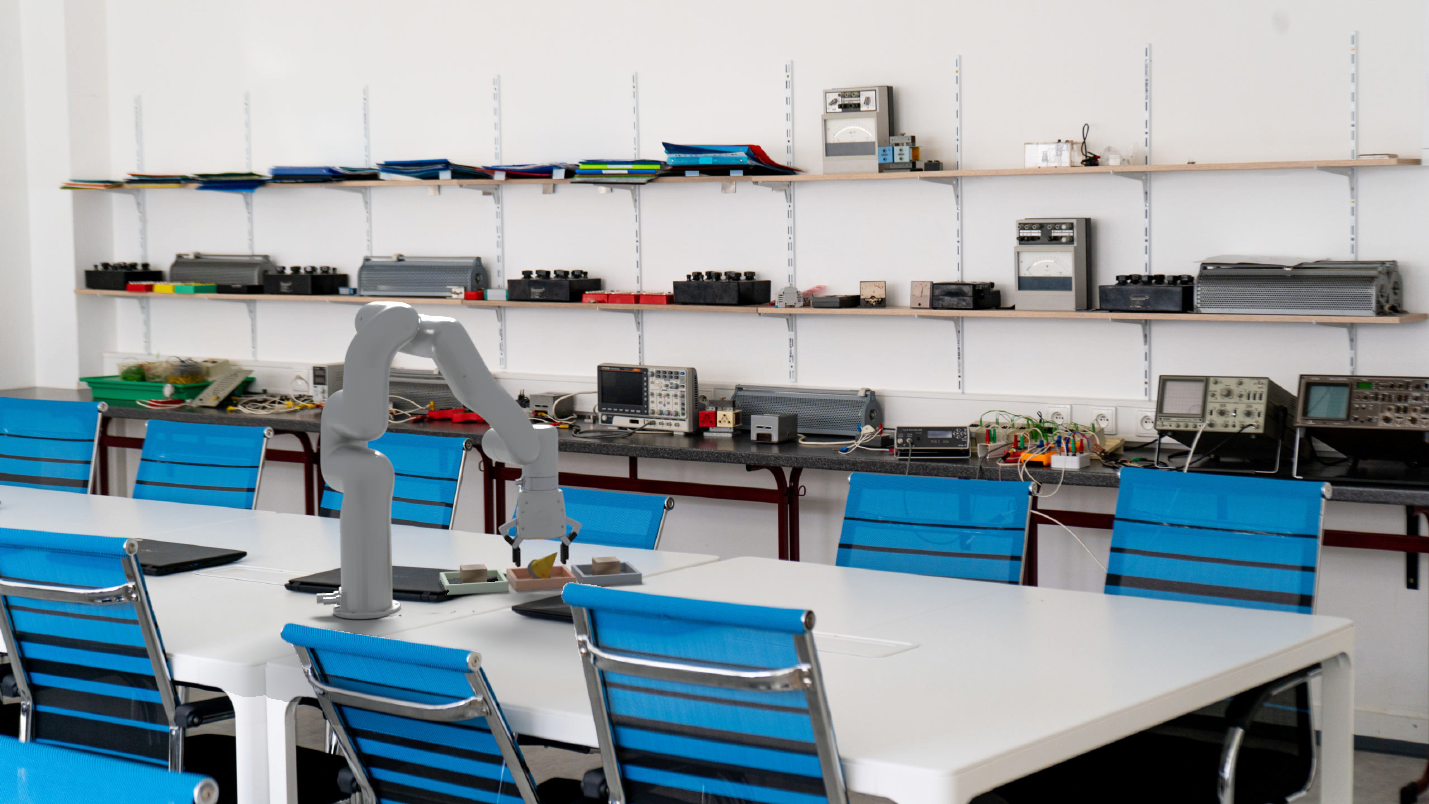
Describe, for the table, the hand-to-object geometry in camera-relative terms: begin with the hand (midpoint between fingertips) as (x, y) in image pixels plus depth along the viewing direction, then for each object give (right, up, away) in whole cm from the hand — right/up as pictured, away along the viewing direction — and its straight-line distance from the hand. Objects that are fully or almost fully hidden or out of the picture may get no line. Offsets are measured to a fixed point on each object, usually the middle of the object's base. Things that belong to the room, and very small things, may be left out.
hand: (540, 564), depth 277 cm
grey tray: (+13, -4, +5) cm, 15 cm away
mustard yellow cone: (+1, -4, 0) cm, 4 cm away
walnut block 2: (+13, -3, +4) cm, 14 cm away
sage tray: (-13, -5, -4) cm, 15 cm away
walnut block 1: (-13, -4, -4) cm, 14 cm away
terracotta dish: (0, -4, 0) cm, 4 cm away
